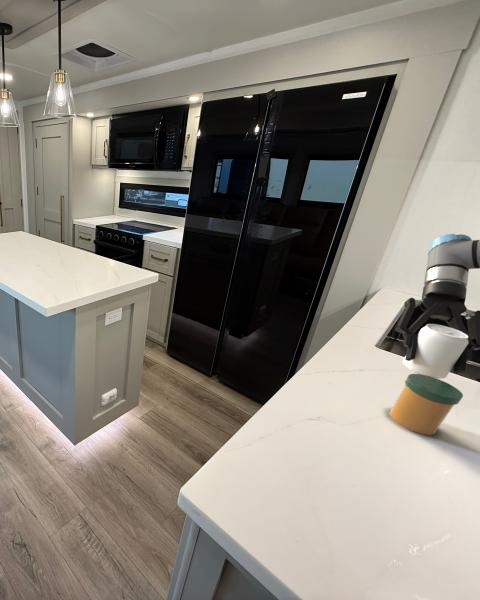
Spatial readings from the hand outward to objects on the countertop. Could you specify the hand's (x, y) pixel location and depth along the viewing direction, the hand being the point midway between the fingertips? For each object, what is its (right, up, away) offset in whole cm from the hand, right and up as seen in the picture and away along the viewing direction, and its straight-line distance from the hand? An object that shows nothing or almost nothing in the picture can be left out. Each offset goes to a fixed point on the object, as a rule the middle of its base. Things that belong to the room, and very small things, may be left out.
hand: (433, 365), depth 77 cm
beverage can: (+2, -2, +4) cm, 5 cm away
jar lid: (-7, -4, -6) cm, 10 cm away
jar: (-7, -13, -2) cm, 15 cm away
